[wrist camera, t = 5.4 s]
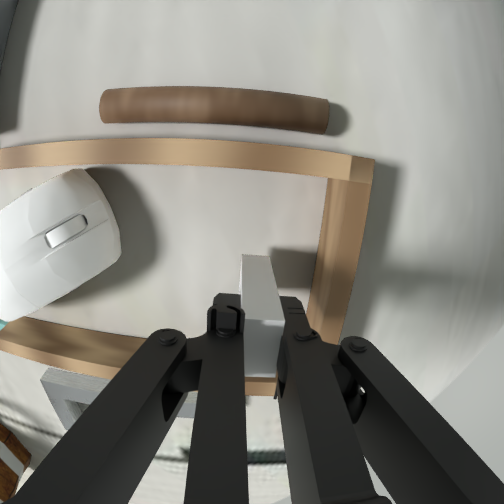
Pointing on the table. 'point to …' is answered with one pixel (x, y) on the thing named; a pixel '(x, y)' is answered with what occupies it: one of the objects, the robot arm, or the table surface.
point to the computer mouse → (54, 242)
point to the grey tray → (5, 23)
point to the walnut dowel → (215, 107)
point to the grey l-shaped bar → (86, 394)
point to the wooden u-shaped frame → (214, 155)
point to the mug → (11, 463)
